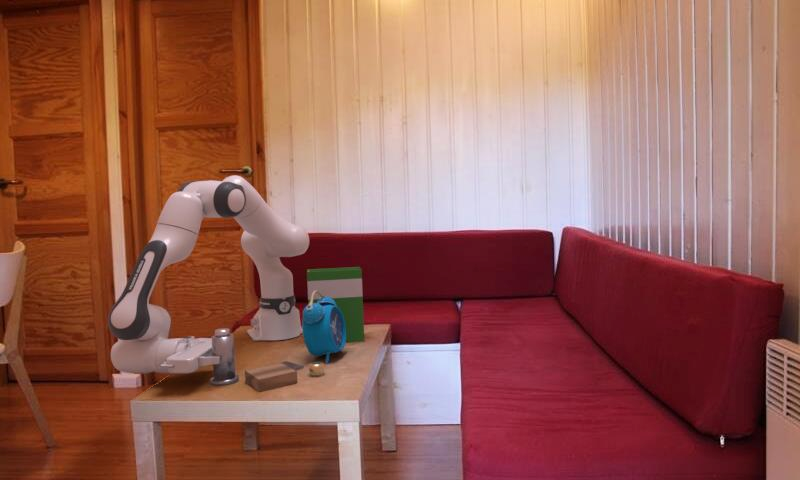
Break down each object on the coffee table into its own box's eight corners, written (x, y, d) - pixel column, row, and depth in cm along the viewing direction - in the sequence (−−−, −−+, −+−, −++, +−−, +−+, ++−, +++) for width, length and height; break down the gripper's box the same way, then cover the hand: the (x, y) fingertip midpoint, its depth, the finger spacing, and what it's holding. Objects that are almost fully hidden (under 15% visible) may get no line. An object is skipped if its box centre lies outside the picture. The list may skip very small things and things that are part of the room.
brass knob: (306, 374, 144) (306, 363, 144) (320, 371, 146) (319, 360, 146) (313, 378, 141) (312, 366, 141) (327, 375, 143) (326, 363, 143)
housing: (207, 381, 141) (204, 329, 140) (233, 375, 145) (231, 325, 144) (215, 387, 136) (212, 334, 135) (242, 381, 140) (240, 330, 139)
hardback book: (362, 336, 185) (359, 266, 183) (364, 341, 178) (361, 269, 176) (310, 340, 182) (307, 269, 181) (310, 345, 175) (306, 272, 173)
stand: (245, 381, 139) (244, 370, 139) (281, 373, 145) (281, 362, 145) (259, 391, 131) (258, 379, 131) (297, 382, 137) (296, 371, 137)
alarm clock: (334, 365, 151) (331, 295, 150) (299, 364, 153) (296, 295, 152) (351, 349, 168) (348, 286, 166) (319, 349, 170) (317, 286, 168)
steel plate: (268, 370, 151) (268, 366, 151) (286, 365, 155) (285, 361, 155) (286, 375, 145) (286, 371, 145) (303, 370, 150) (303, 365, 150)
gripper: (153, 354, 130) (209, 353, 129) (191, 334, 151) (240, 333, 150) (155, 380, 131) (211, 379, 130) (193, 356, 151) (241, 355, 150)
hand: (226, 354), depth 140 cm, fingers open, 8 cm apart
